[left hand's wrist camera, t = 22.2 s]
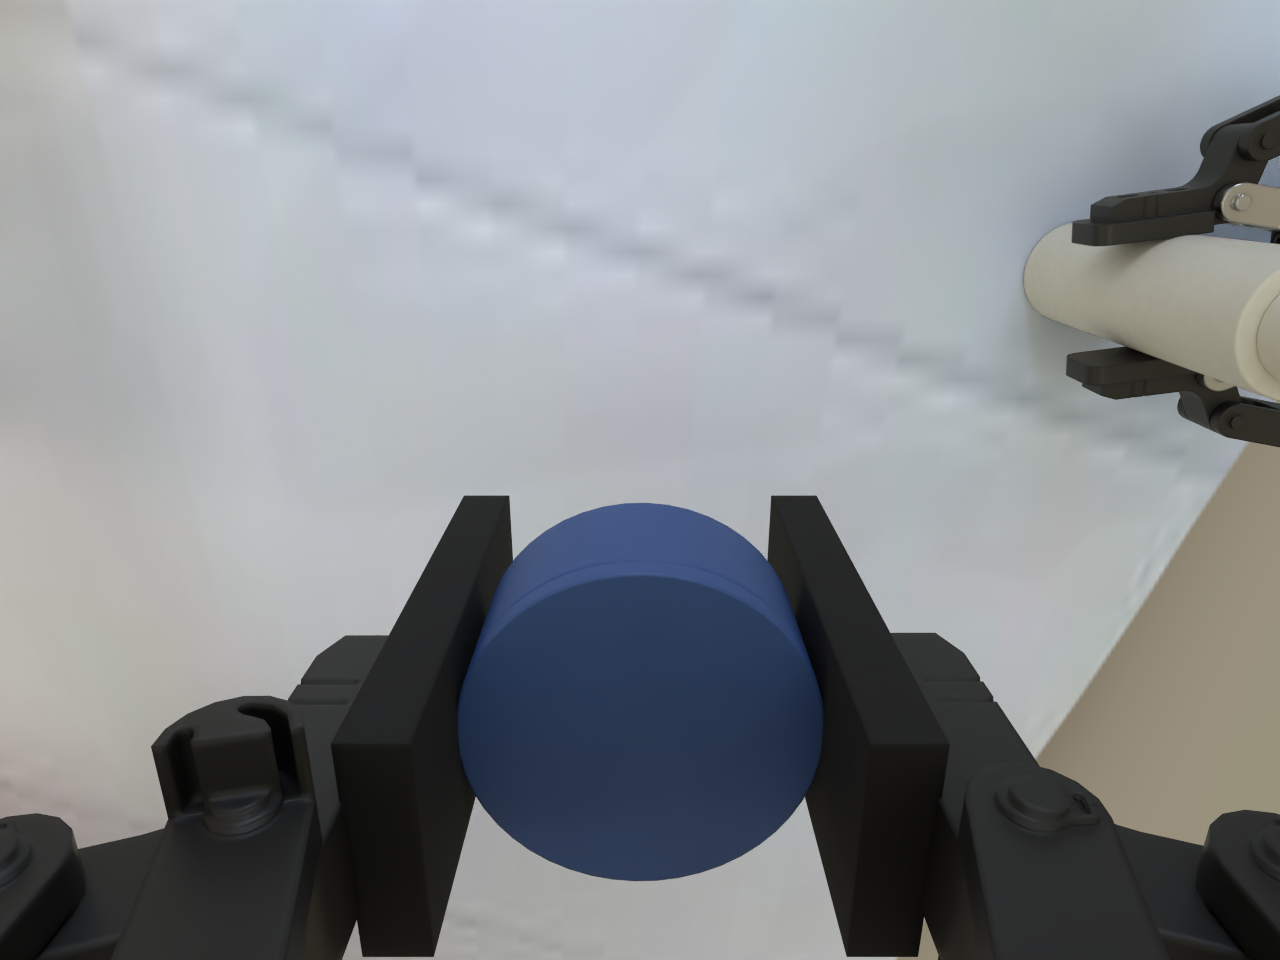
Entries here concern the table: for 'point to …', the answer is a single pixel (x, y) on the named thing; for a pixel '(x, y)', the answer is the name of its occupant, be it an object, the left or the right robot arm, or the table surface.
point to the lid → (640, 696)
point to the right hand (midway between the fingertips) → (1081, 302)
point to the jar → (1170, 300)
